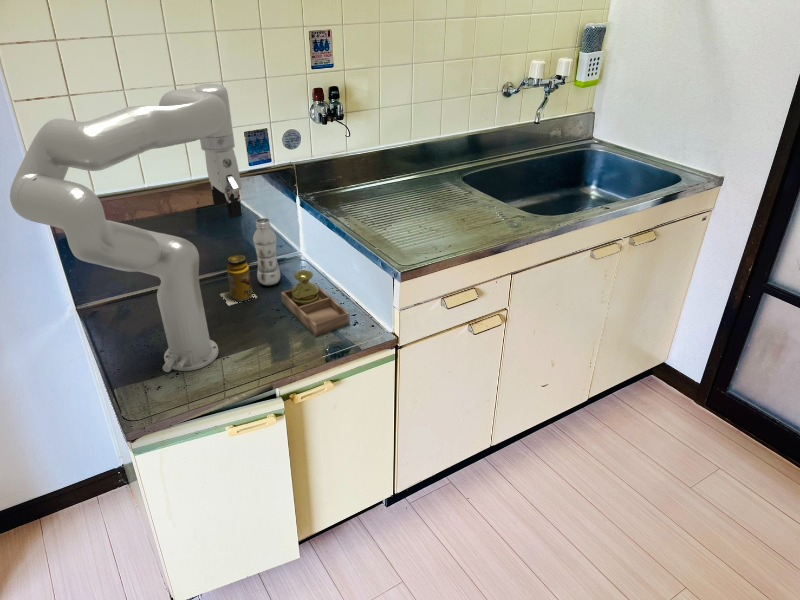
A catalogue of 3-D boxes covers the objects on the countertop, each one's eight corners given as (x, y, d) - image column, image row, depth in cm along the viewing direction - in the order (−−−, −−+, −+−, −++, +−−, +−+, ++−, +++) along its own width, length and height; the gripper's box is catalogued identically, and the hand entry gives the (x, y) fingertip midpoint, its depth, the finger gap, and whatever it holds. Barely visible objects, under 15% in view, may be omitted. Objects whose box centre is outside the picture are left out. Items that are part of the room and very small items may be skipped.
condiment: (257, 297, 171) (252, 260, 164) (228, 306, 167) (222, 268, 160) (248, 287, 176) (242, 250, 170) (219, 295, 172) (213, 257, 166)
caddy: (349, 324, 159) (349, 313, 157) (315, 336, 154) (314, 325, 152) (314, 293, 173) (314, 282, 171) (282, 303, 168) (281, 292, 166)
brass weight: (318, 295, 170) (316, 264, 165) (320, 309, 164) (317, 277, 158) (292, 297, 169) (289, 265, 164) (292, 311, 163) (289, 278, 157)
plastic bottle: (260, 277, 181) (252, 216, 170) (282, 277, 181) (276, 215, 170) (256, 288, 175) (248, 225, 165) (279, 288, 175) (272, 225, 165)
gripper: (247, 147, 134) (256, 218, 143) (219, 130, 146) (229, 196, 155) (214, 153, 130) (225, 225, 139) (189, 134, 143) (200, 202, 151)
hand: (227, 210), depth 147 cm, fingers open, 9 cm apart
